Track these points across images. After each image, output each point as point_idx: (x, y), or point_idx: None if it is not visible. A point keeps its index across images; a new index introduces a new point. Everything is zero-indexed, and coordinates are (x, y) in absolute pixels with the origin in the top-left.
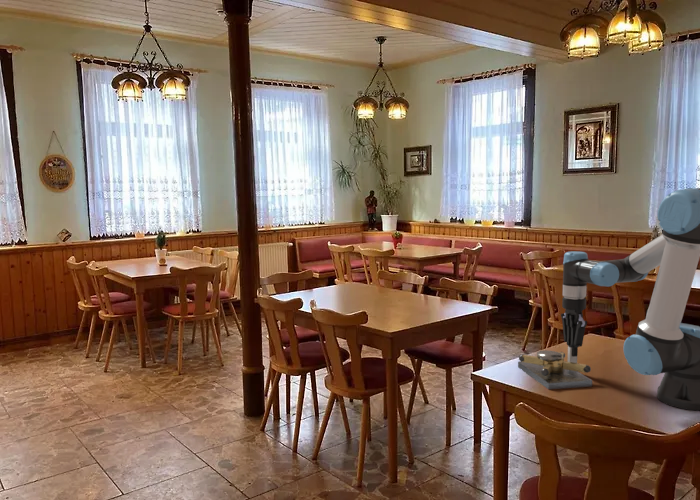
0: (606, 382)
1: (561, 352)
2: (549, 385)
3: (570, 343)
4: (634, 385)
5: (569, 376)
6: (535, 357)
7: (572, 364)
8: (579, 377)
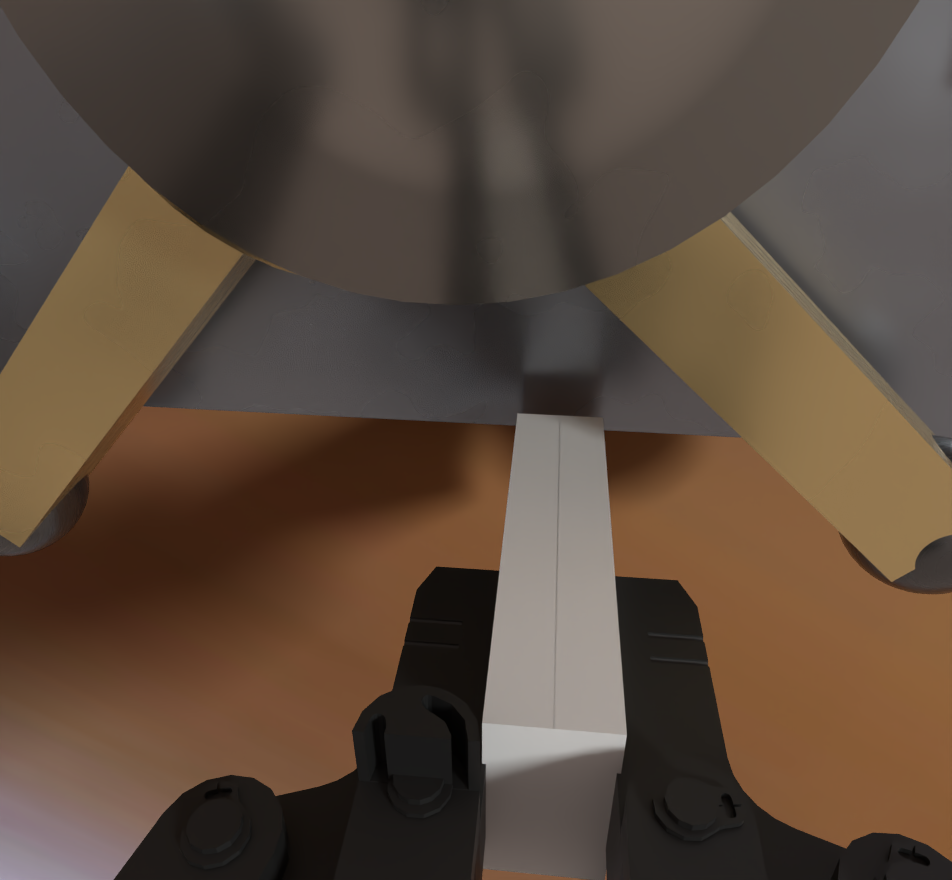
0: (145, 578)
1: (930, 542)
2: None
3: (621, 858)
4: (77, 736)
5: (42, 122)
6: None
7: (43, 311)
8: (14, 278)
